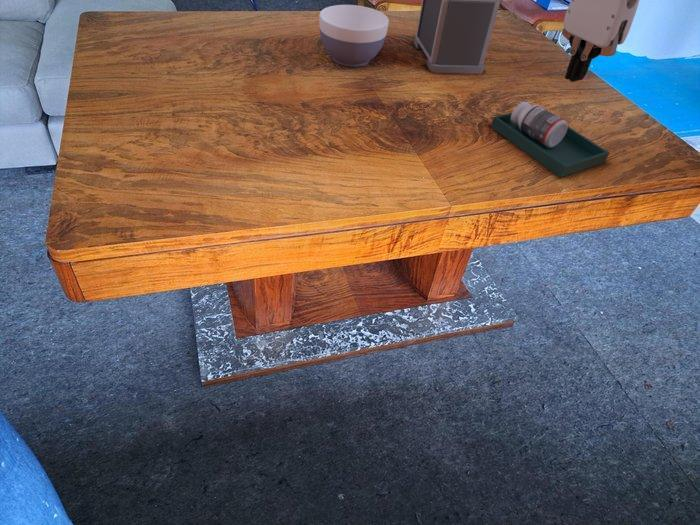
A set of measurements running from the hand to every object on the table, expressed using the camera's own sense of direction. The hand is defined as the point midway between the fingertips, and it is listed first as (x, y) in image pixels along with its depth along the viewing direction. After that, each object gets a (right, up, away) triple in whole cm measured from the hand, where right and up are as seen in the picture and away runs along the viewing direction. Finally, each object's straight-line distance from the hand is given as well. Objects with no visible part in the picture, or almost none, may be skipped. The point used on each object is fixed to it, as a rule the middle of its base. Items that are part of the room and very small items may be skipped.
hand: (573, 78), depth 91 cm
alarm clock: (-16, +18, +36) cm, 44 cm away
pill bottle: (-1, -9, +5) cm, 10 cm away
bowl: (-40, +16, +31) cm, 53 cm away
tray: (-2, -10, +9) cm, 13 cm away
